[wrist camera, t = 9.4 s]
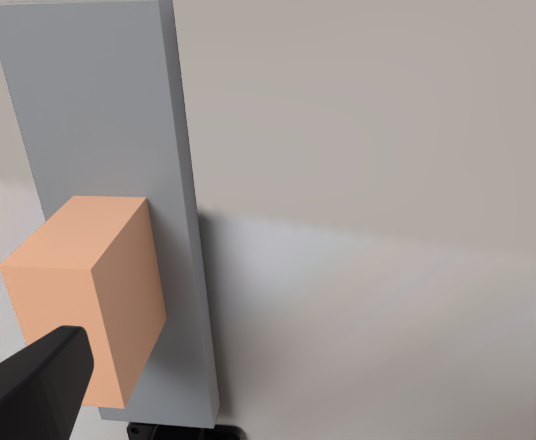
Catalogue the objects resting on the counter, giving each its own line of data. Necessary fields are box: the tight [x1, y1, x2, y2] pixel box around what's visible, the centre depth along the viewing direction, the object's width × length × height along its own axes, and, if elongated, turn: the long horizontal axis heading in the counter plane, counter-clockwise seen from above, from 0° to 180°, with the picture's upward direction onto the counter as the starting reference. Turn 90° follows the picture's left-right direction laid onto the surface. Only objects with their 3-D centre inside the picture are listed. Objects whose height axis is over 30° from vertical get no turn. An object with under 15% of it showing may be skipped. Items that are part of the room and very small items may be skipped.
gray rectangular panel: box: [0, 0, 220, 429], centre depth 20 cm, size 20×6×6 cm, turn 2°
